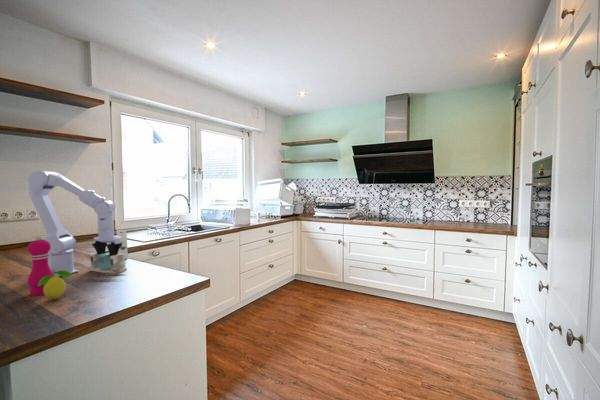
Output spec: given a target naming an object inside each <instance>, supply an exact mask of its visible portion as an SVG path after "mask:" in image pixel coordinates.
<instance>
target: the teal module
mask: <svg viewBox="0 0 600 400" xmlns="http://www.w3.org/2000/svg"><path fill="white" fill-rule="evenodd" d="M98 268H99V269H108V268H111V262H110V255H109V251H108V252H105V253H104V254H100V255H98Z"/></svg>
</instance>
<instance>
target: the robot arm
mask: <svg viewBox="0 0 600 400" xmlns="http://www.w3.org/2000/svg"><path fill="white" fill-rule="evenodd" d="M26 179H27V182H28V184H29V185H28V195H29V197H30V200H31V203H32V204H33V206H34V208H35V210H36V212H37V215H38V216H39V218H40V221H41V223H42V225H43V227H44V230H45V231H46V233H47V234H46V235H45V238H44V240H46V241H48V242H49V243H50V245H51V248H50V250H49V251H48V253H49V257H48V265H49V267H50V269H51V270H52V271H53V269H54V271H55V272H54V275H55V276H56V277H61V276H60V275H58V274H57V273H56V272H58V271H61V270H65V271H68V272H69V273H70V274H71V275H72V274H73V273H74V274H75V273H77V272H79V271H80V270H78V269H75V264H74V262H75V261H74V248H75V246H76V244H77V241H76V238H75V237H74V236H72V235H71V233H70V231H68V230H66V229H65V228H64V226H63V224H62V222H61V220H60V218H59V216H58V213H57V212H56V210H55V208H54V205H53V203H52V201H51V199H50V197H49V194H50V192H51V191H52V190H53V189H54V188H55V187H61V188H62V189H63V190H66V191H68V192H70V193H72V194H73V195H75V196H78V200H79V201H80V202H82V203H83V204H85V205H87V206H88V207H90V208H91V209H93V210H94V212H95V213H96V215H97V231H98V232H97V233H98V236H95V237H93V242H94V243H93V242H92V244H91V246H92V247H93V248H94V250H95V253H96V252H97V254H98V255H100V254H104V253H106V249H107V250H108V252H109V255H110V256H113V255H117V254H118V251H119V248H120V246H121V245H122V243H120V239H118V238H117V237H114V236H115V226H114V225H115V224H114V211H115V210H116V204H115V202H114V201H112V200H110V199H106V197H105V196H100V195H99V194H97V193H96V191H95V190H90V189H86V190H85V189H83V188H82V187H80V186H79V185H77V184H76V183H75V182H74V181H72V180H70V179H68V178H67V177H66V176H64V174H63V175H62V174H60V173H59V172H58V171H54V170H49V171H48V170H41V169H35V170H32V172H30V174H29V176H27V178H26ZM108 243H111V244H108Z"/></svg>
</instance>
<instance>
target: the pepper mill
mask: <svg viewBox="0 0 600 400" xmlns="http://www.w3.org/2000/svg"><path fill="white" fill-rule="evenodd" d="M34 239H35V240H33V241H31V242H30V243H28V245H27V249H26V250H27V252H28V253H29V254H30V255H29V257H30V260H32V268H31V270H30V273H29V275H28V277H27V281H26V282H27V285H28V286H29V287H31V288H30V289H29V295H31V296H40V295H45V294H44V291H43V288H44V284H45V283H44V284H42V285H40V286H38V283H39V281H40V280H41V279H42V278H43V277H45V276H48V275H52V274H53V271H52V270H51V269H50V267H49V265H48V257H49V255H50V252H48V251H49V250H50V248H51V245H50V243H49V242H48V241H46V240H45V239H43V237H42V236H41V235H36V236H35V238H34ZM52 276H53V275H52ZM52 276H51V277H52ZM54 276H55V275H54ZM51 277H50V278H51Z"/></svg>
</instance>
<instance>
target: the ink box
mask: <svg viewBox="0 0 600 400" xmlns="http://www.w3.org/2000/svg"><path fill="white" fill-rule="evenodd" d="M114 237H117V238H118V239H120V243H122V245H121V246H120V248H119V251H118V254H121V253H122V254H125V259H126V260H128V259H129V254H128V253H129V252H128V236H127V230H126V229H116V234H115V235H114ZM107 244H111V243H107Z"/></svg>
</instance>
